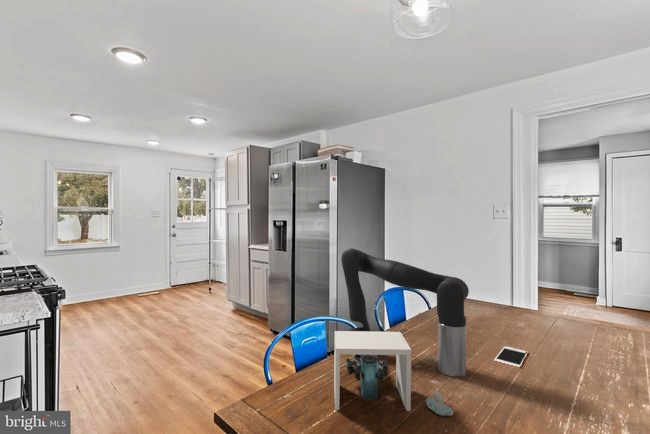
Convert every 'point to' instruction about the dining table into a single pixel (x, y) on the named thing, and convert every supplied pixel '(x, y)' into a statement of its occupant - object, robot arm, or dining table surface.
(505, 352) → the cell phone
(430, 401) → the pacifier
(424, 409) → the dining table surface
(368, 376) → the teal bottle
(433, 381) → the dining table surface
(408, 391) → the low shelf
